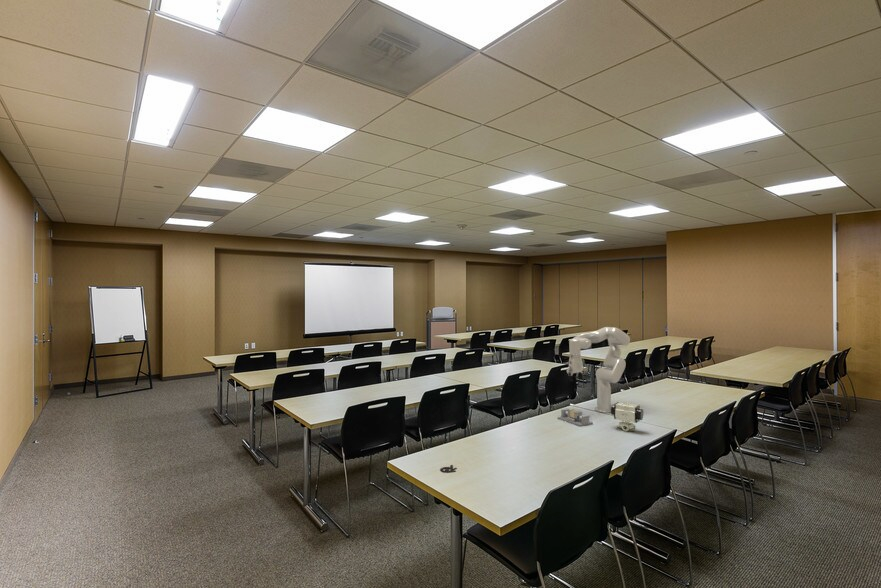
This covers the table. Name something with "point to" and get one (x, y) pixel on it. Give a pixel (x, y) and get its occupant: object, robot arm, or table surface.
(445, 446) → the table surface
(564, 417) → the shaft stand
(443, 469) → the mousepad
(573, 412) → the coupler
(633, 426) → the ball valve
